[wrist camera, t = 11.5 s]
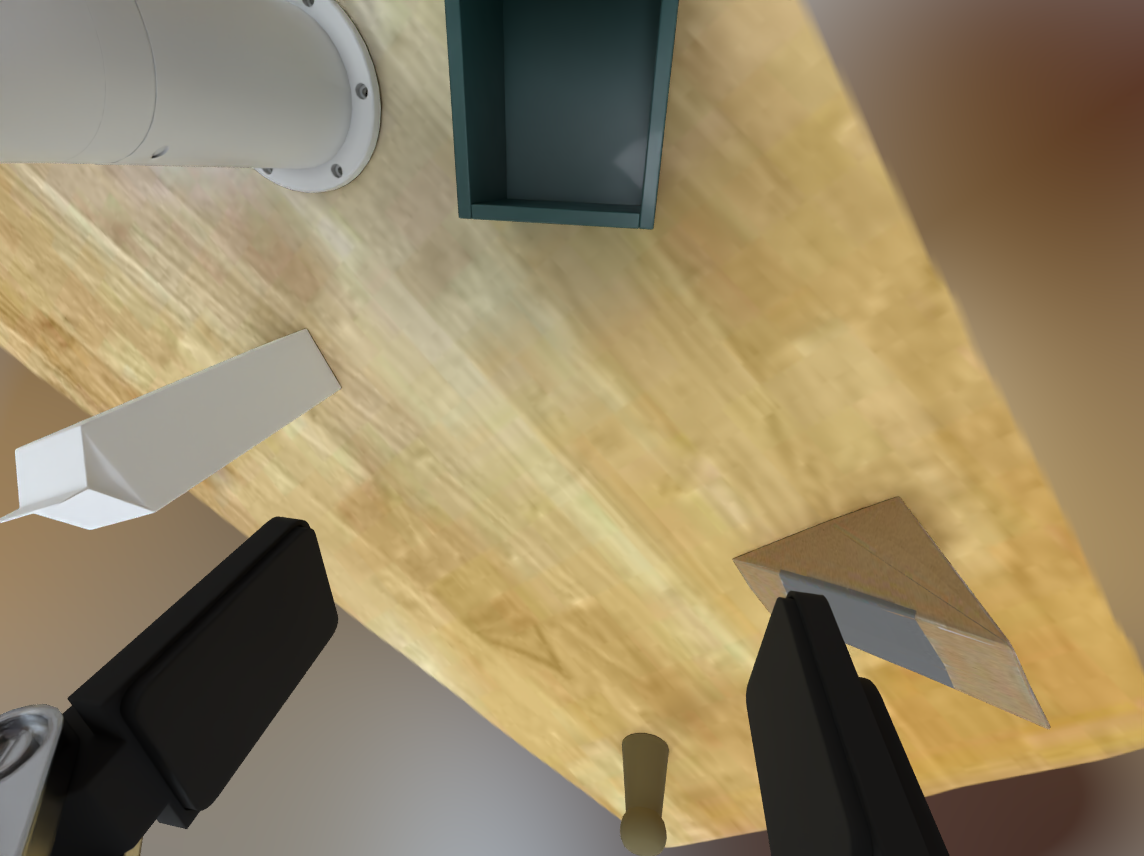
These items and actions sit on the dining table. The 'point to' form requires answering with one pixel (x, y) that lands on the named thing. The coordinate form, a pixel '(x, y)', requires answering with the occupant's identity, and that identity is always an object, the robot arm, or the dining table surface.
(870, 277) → the dining table surface
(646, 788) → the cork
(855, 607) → the sandwich container
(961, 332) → the dining table surface
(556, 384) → the dining table surface
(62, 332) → the dining table surface
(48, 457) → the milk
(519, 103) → the teal open box
